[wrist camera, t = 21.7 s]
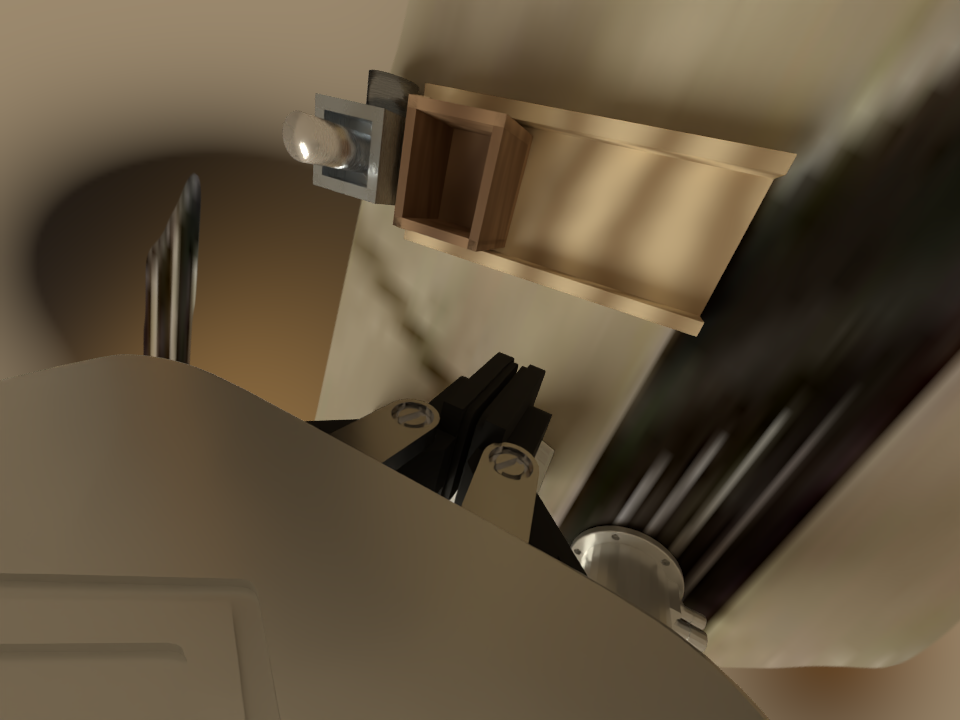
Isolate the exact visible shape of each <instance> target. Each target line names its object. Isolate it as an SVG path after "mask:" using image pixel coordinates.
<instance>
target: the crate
mask: <svg viewBox="0 0 960 720" xmlns="http://www.w3.org/2000/svg"><path fill="white" fill-rule="evenodd" d="M533 137H534V136H532V135H531V134H530V133H529V132H528V131H527V130H525V129H524V128H523V127H522V126H521V125H519V124H518V123H517V122H516V121H515V120H513V119H512V118H511V117H510V116H509V115H508V114H504V113H499V112H495V111H490V110H485V109H480V108H475V107H470V106H465V105H460V104H455V103H451V102H446V101H441V100H436V99H431V98H426V97H421V96H416V95H411V94H409V98H408V106H407V114H406V122H405V130H404V138H403V146H402V155H401V163H400V171H399V179H398V187H397V195H396V204H395V212H394V220H393V225H395V226H398V227H401V228H404V229H407V230H410V231H413V232H416V233H419V234H422V235H425V236H429V237H432V238H435V239H438V240H441V241H444V242H447V243H450V244H453V245H456V246H459V247H462V248H465V249H469V250H472V251H475V252H478V251H484V250H491V249H497V248H504V247H505V244H506V240H507V236H508V233H509V229H510V225H511V221H512V217H513V213H514V209H515V206H516V202H517V198H518V194H519V190H520V186H521V183H522V179H523V175H524V171H525V167H526V163H527V160H528V156H529V152H530V148H531V144H532V140H533Z"/></svg>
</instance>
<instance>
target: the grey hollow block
mask: <svg viewBox="0 0 960 720" xmlns="http://www.w3.org/2000/svg"><path fill="white" fill-rule="evenodd" d="M418 88H419V87H418V86H417V85H416V84H414V83H412V82H411V81H409V80H406V79H404V78H402V77H399V76H396V75H393V74H390V73H387V72H383V71H378V70H369V77H368V90H367V101H366V104H361V103H357V102H352V101H348V100H344V99H339V98H335V97H330V96H325V95H321V94H317V93H316V95H315V116H316V117H319V118H322V119H325V120H327V121H330V122H333V123H336V124H339V125H342V126H345V127H348V128H351V129H353V130H356V131H359V132H362V133H365V134H368V135H371V146H370V157H369V168H368V175H367V174H362V173H357V172H351V171H346V170H341V169H336V168H331V167H326V166H320V165H315V164H314V167H313V168H314V169H313V184H314V185H317V186H320V187H323V188H327V189H330V190H333V191H336V192H340V193H343V194H346V195H350V196H353V197H356V198H359V199H362V200H365V201H368V202H372V203H375V204H386V205H395V204H396V195H397V187H398V179H399V171H400V163H401V155H402V146H403V138H404V130H405V122H406V114H407V106H408V98H409V94H411V95H413V94H417V95H418Z"/></svg>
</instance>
